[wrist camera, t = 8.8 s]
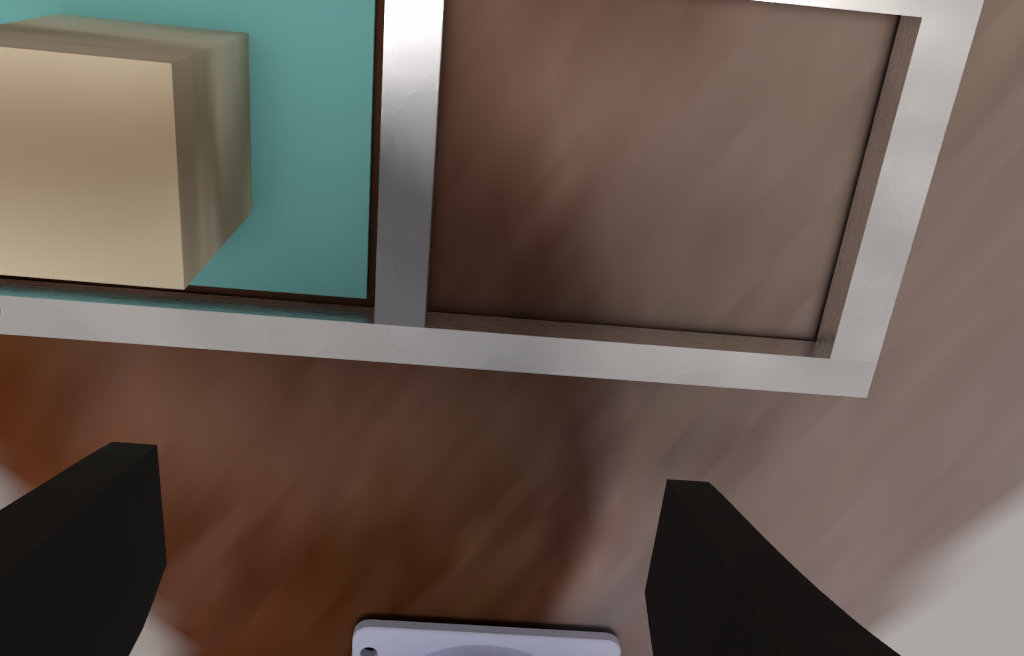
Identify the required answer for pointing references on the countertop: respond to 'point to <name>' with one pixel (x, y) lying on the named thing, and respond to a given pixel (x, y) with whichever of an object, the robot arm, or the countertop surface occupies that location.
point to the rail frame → (410, 199)
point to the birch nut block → (121, 149)
